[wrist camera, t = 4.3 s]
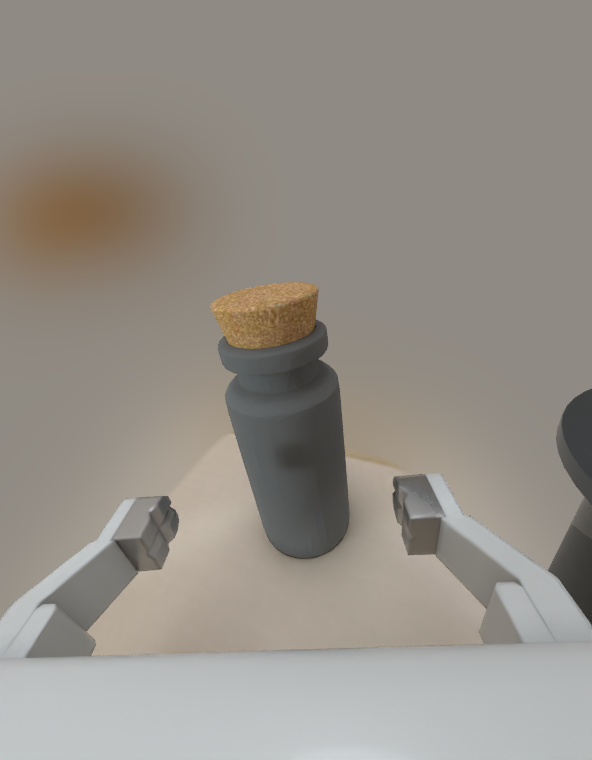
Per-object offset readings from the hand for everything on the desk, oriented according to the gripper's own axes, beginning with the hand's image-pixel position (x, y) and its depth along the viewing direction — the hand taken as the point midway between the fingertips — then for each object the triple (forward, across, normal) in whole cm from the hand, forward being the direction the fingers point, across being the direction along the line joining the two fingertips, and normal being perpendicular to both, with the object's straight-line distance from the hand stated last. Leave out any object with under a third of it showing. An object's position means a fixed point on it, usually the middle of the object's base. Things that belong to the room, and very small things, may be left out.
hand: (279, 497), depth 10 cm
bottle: (+6, 0, +9) cm, 11 cm away
